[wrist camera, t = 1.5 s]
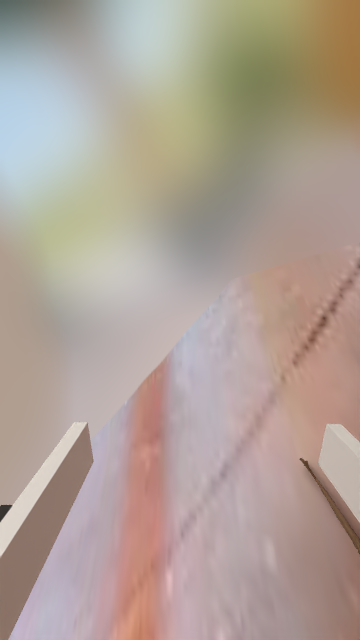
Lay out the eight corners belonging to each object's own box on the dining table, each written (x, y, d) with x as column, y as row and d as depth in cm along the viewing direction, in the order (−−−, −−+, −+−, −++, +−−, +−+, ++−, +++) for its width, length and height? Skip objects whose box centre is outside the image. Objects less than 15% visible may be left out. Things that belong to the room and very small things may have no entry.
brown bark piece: (295, 468, 26) (292, 460, 23) (310, 463, 26) (308, 454, 23) (432, 718, 14) (460, 768, 11) (462, 713, 14) (500, 764, 11)
